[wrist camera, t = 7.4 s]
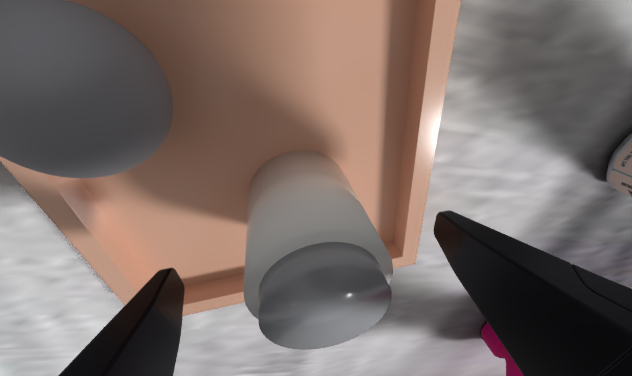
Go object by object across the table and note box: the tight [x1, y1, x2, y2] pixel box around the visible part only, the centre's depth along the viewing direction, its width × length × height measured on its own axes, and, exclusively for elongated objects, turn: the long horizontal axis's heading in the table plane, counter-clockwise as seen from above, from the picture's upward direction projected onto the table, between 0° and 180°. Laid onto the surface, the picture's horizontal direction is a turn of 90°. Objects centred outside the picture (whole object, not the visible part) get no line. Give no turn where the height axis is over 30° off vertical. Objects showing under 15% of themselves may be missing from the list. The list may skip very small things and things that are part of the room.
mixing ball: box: [0, 0, 173, 178], centre depth 6 cm, size 4×4×4 cm
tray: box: [0, 0, 461, 316], centre depth 10 cm, size 14×14×2 cm
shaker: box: [244, 150, 393, 349], centre depth 9 cm, size 4×4×6 cm
